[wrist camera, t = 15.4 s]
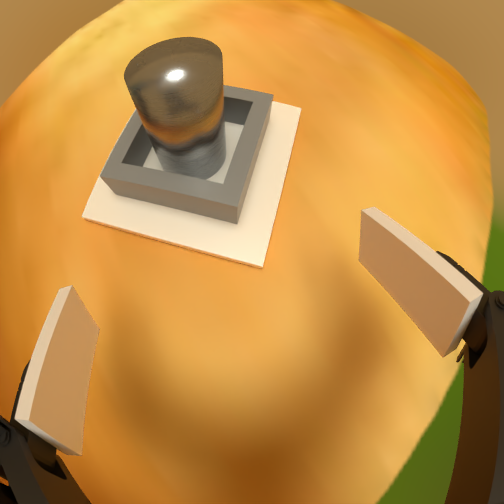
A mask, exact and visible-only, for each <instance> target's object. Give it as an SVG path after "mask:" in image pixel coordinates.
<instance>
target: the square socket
mask: <svg viewBox="0 0 504 504" xmlns="http://www.w3.org/2000/svg"><path fill="white" fill-rule="evenodd" d="M223 89H224V114H225V135H226V159H225V162H224V164H223V166H222V167H221V168H220V170H219V171H218V172H217V173H216V174H214V175H213V176H212V177H210V178H208V179H206V180H204V179H200V178H195V177H190V176H186V175H181V174H176V173H171V172H167V171H164V170H163V168H162V166H161V164H160V162H159V160H158V157H157V155H156V153H155V151H154V148H153V146H152V144H151V142H150V139H149V137H148V135H147V133H146V130H145V128H144V126H143V123H142V121H141V119H140V116H139V114H138V112H137V109H135V111H134V113H133V114H132V116H131V118H130V119H129V121H128V123H127V124H126V126H125V128H124V129H123V131H122V133H121V135H120V136H119V138H118V140H117V142H116V144H115V146H114V147H113V149H112V151H111V153H110V155H109V157H108V159H107V161H106V163H105V165H104V167H103V169H102V171H101V173H100V175H99V177H98V180H97V182H96V184H95V186H94V188H93V191H92V193H91V195H90V197H89V200H88V202H87V204H86V207H85V209H84V212H83V214H82V217H83V218H84V219H85V220H87V221H91V222H94V223H97V224H101V225H104V226H108V227H111V228H115V229H118V230H122V231H125V232H129V233H132V234H136V235H139V236H143V237H147V238H150V239H154V240H157V241H161V242H164V243H168V244H172V245H175V246H179V247H183V248H186V249H190V250H193V251H197V252H201V253H204V254H208V255H212V256H215V257H219V258H223V259H227V260H230V261H234V262H238V263H242V264H245V265H249V266H253V267H257V268H260V269H262V267H263V263H264V259H265V255H266V251H267V248H268V244H269V240H270V236H271V232H272V228H273V224H274V220H275V216H276V212H277V208H278V204H279V200H280V196H281V192H282V187H283V183H284V179H285V175H286V171H287V167H288V163H289V159H290V155H291V150H292V146H293V142H294V138H295V134H296V129H297V125H298V121H299V117H300V112H301V108H298V107H294V106H291V105H287V104H283V103H279V102H275V101H273V95H272V94H268V93H263V92H258V91H253V90H248V89H243V88H237V87H232V86H225V85H223Z"/></svg>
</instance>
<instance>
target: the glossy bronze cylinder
mask: <svg viewBox="0 0 504 504" xmlns="http://www.w3.org/2000/svg"><path fill="white" fill-rule="evenodd" d="M124 79H125V82H126V85H127V87H128V90H129V92H130V95H131V97H132V100H133V102H134V104H135V107H136V109H137V112H138V114H139V116H140V119H141V121H142V123H143V126H144V128H145V130H146V133H147V135H148V137H149V139H150V142H151V144H152V146H153V148H154V151H155V153H156V155H157V157H158V160H159V162H160V164H161V166H162V168H163V170H164V171H167V172H171V173H176V174H181V175H186V176H190V177H195V178H200V179H204V180H206V179H208V178H210V177H212V176H213V175H214V174H216V173H217V172H218V171H219V170H220V168H221V167H222V166H223V164H224V162H225V159H226V135H225V114H224V89H223V61H222V52H221V50H220V48H219V47H218V46H217V45H215V44H214V43H212V42H210V41H208V40H205V39H201V38H195V37H180V38H173V39H169V40H165V41H162V42H159V43H156V44H154V45H152V46H150V47H148V48H146V49H144V50H143V51H141V52H140V53H139V54H137V55H136V56H135V57H134V58H133V59H132V60H131V61H130V63H129V64H128V66H127V67H126V70H125V73H124Z"/></svg>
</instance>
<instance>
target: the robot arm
mask: <svg viewBox="0 0 504 504" xmlns="http://www.w3.org/2000/svg"><path fill="white" fill-rule="evenodd" d="M359 262H360V263H361V264H362V265H363V266H364V267H365V268H366V269H367V270H368V271H369V272H370V273H371V274H372V275H373V276H374V278H375V279H376V280H377V281H378V282H379V283H380V284H381V285H382V286H383V287H384V289H385V290H386V291H387V292H388V293H389V294H390V295H391V296H392V297H393V299H394V300H395V301H396V302H397V303H398V304H399V305H400V307H401V308H402V309H403V310H404V311H405V312H406V313H407V315H408V316H409V317H410V318H411V319H412V320H413V322H414V323H415V324H416V325H417V326H418V328H419V329H420V330H421V331H422V332H423V334H424V335H425V336H426V337H427V339H428V340H429V341H430V342H431V343H432V345H433V346H434V347H435V348H436V350H437V351H438V352H439V354H440V355H441V356H442V357H445V356H446V355H448V354H449V353H451V352H452V351H454V350H455V349H456V348H457V346H458V345H459V343H460V341H461V339H462V338H463V340H464V341H465V342H466V343H465V345H464V347H463V349H462V350H461V352H460V354H459V355H458V357H457V361H456V362H459V361H460V359H461V358H462V356H463V355H464V359H463V361H462V363H464V388H463V406H462V417H461V426H460V435H459V441H458V448H457V454H456V459H455V464H454V469H453V474H452V478H451V482H450V486H449V490H448V493H447V497H446V500H445V504H504V292H503V291H494V292H492V293H491V292H489V291H488V290H487V289H486V288H485V287H484V286H483V285H482V284H481V283H480V282H478V281H477V280H476V279H475V278H474V277H473V276H472V275H471V274H469V273H468V272H467V271H465V270H464V268H462V267H461V266H460V265H458V263H456V262H455V261H454V260H453V259H452V258H450V257H449V256H447V255H445V254H443V253H441V252H439V251H436V252H435V251H434V250H433V249H431V248H430V247H429V246H428V245H426V244H425V243H424V242H422V241H421V240H420V239H418V238H417V237H416V236H415V235H413V234H412V233H411V232H409V231H408V230H407V229H405V228H404V227H403V226H401V225H400V224H398V223H397V222H396V221H394V220H393V219H391V218H390V217H389V216H387V215H386V214H384V213H383V212H381V211H380V210H379V209H377V208H376V207H372V208H367V209H363V210H361V229H360V248H359ZM99 330H100V329H99V327H98V326H97V324H96V323H95V321H94V320H93V318H92V317H91V315H90V314H89V312H88V310H87V309H86V307H85V306H84V304H83V302H82V301H81V299H80V297H79V296H78V294H77V292H76V291H75V289H74V287H73V286H72V285H71V286H67V287H64V288H60V289H59V291H58V293H57V296H56V298H55V300H54V302H53V304H52V307H51V309H50V311H49V313H48V316H47V318H46V321H45V323H44V325H43V328H42V330H41V333H40V336H39V338H38V341H37V343H36V346H35V349H34V352H33V355H32V358H31V359H30V361H29V362H28V364H27V365H26V367H25V369H24V371H23V374H22V377H21V382H20V384H19V388H18V389H19V391H17V395H16V399H15V403H14V407H13V411H12V415H11V420H10V423H9V422H8V421H7V420H6V419H4V418H3V417H2V416H1V415H0V477H2V478H4V479H6V480H8V482H9V486H6V485H4V484H2V483H0V504H91V503H90V501H89V500H88V498H87V497H86V496H85V494H84V493H83V492H82V490H81V489H80V487H79V486H78V484H77V483H76V481H75V480H74V478H73V477H72V475H71V474H70V472H69V470H68V469H67V467H66V466H65V464H64V462H63V461H62V459H61V458H60V457H59V456H58V455H56V449H58V450H60V451H61V452H63V453H65V454H67V455H76V456H82V445H83V431H84V420H85V411H86V403H87V395H88V388H89V382H90V375H91V370H92V364H93V359H94V353H95V348H96V344H97V339H98V334H99Z"/></svg>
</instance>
